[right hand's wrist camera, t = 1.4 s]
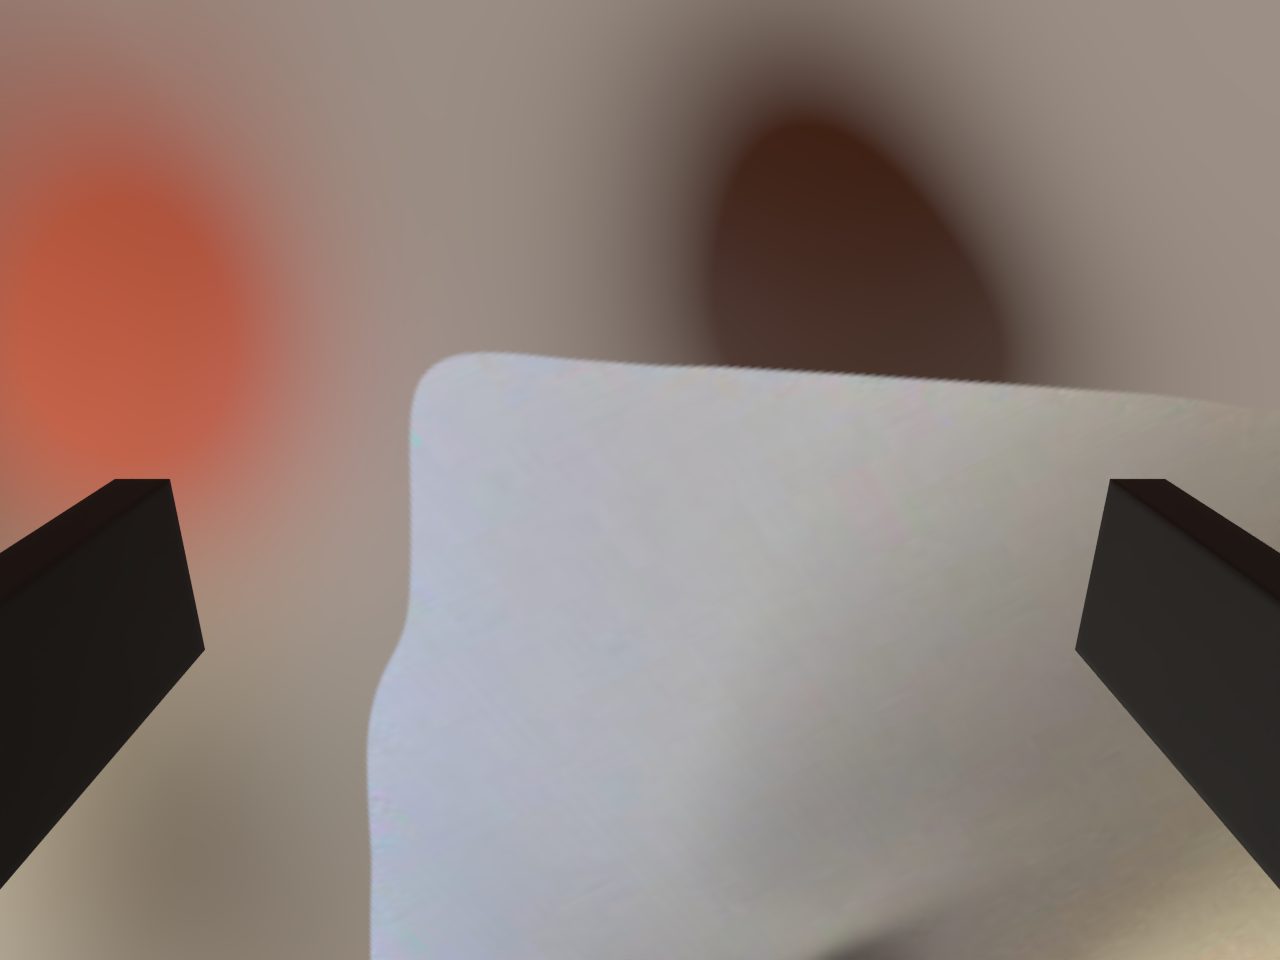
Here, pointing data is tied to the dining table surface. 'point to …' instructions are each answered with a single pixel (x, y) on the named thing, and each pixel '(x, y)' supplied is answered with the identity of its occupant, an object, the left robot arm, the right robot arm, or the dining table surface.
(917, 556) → the dining table surface
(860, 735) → the dining table surface
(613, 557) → the dining table surface
